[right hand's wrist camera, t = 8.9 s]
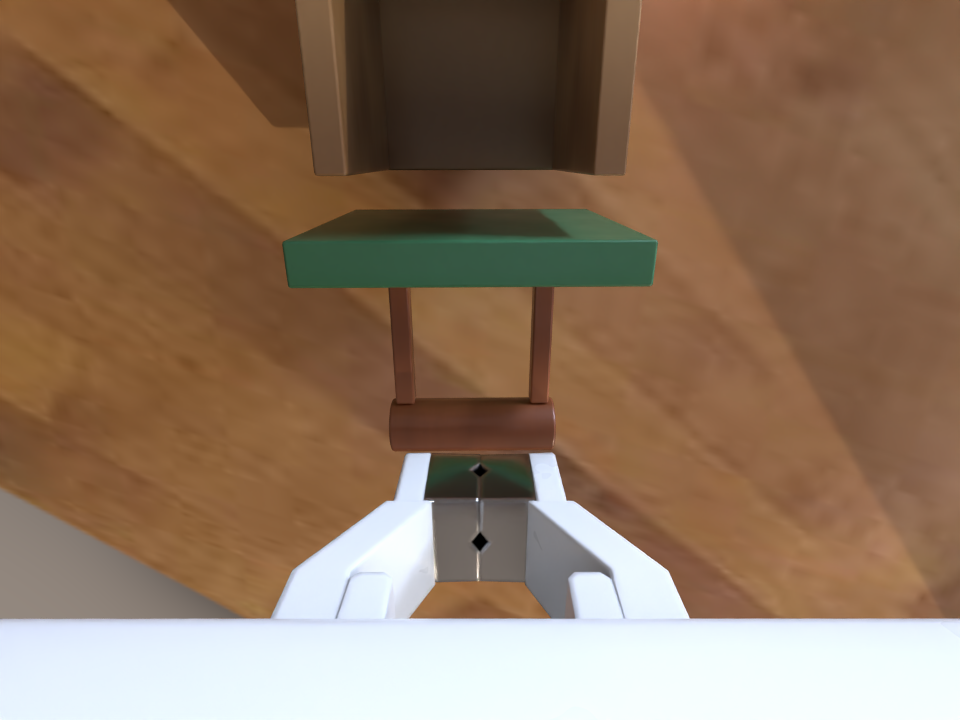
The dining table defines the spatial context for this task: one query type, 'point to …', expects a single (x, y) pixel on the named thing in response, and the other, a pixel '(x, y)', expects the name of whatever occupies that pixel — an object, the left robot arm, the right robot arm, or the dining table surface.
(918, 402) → the dining table surface
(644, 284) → the drawer
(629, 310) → the dining table surface
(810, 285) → the dining table surface
